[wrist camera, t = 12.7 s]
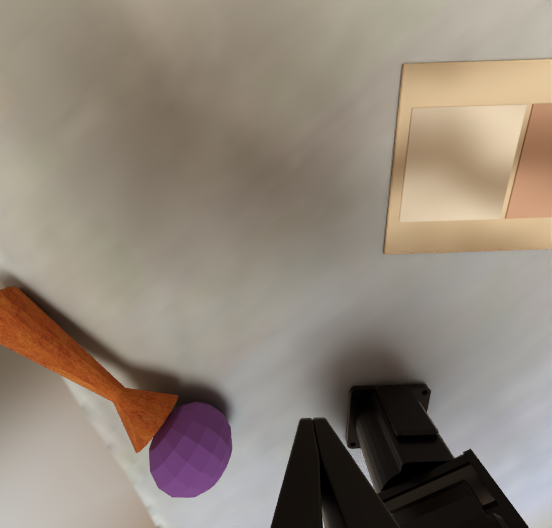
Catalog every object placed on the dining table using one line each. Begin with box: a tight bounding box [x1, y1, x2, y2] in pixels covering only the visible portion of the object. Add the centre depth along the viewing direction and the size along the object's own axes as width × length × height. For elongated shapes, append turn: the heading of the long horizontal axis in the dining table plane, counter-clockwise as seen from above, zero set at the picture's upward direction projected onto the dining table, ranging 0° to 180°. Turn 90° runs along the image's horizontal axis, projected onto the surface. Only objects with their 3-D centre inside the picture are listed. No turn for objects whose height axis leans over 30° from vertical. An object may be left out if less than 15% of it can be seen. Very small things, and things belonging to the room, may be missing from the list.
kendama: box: [0, 287, 232, 498], centre depth 19 cm, size 6×6×20 cm
